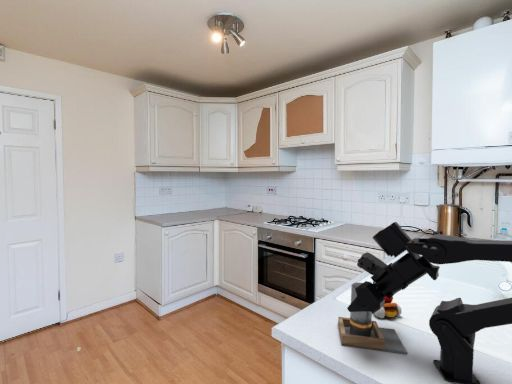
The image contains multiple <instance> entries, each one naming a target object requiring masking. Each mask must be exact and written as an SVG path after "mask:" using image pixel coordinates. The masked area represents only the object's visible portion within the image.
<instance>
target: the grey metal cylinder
mask: <svg viewBox="0 0 512 384" xmlns="http://www.w3.org/2000/svg"><path fill="white" fill-rule="evenodd" d="M362 283H363V282H353V283H352V284H351V289H350V291H351V292H350V304H351V303H352V302H353V300H354V299H355V298H356V297H357V294H356V290H355V288H357V287H358V286H360V285H361V284H362ZM349 313H350V315H349V318H350V335H358V336H366V337H371V328H372V321H373V320H372V319H373V315H372V314H373V312H369V311H363V312H349Z"/></svg>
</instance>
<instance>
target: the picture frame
mask: <svg viewBox="0 0 512 384" xmlns="http://www.w3.org/2000/svg"><path fill="white" fill-rule="evenodd" d="M337 326H338V333H339V339H340V344H341V346H343V347H351V348H359V349H366V350H374V351H381V352H389V353H394V354H395V353H396V354H402V355H403V354H404V355H408V352H407V349H406V347H405V345H404V344H403V342H402V339H400V337H399V335H398V333H397V330H395V328H387V327H379V324H378V322H377V321H376V320H372V328H371V337H366V336H358V335H350V317H345V316H344V317H342V316H338V320H337Z"/></svg>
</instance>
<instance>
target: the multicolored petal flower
mask: <svg viewBox="0 0 512 384" xmlns="http://www.w3.org/2000/svg"><path fill="white" fill-rule="evenodd" d="M384 299H385V304H384V306H383V307H382V308H381V309H379V310H378V311H376V312H375V313H373V314H374V315H375V316H376V318H378V317H379V318H378V319H384V318H385V316H386V317H388V318H394V317H395V316H398V317H400V316H401V314H402V308H401V306H400V304H398V303H397V302H393V301H394V295H393V296H392V297H391V298H389V299H388V297H387V296H386V297H384Z"/></svg>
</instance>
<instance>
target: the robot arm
mask: <svg viewBox="0 0 512 384" xmlns="http://www.w3.org/2000/svg"><path fill="white" fill-rule="evenodd" d="M372 239H373V241H375V243H376V244H377V246H379V247H380V248H381V250H382V251H383V252H384V253H385V255H386V256H387V257H389V256H390V257H394V258H397V257H398V256H399V255H402V253H404V252H407V253H406V254H404V255H402V256H401V257H400V258H398V259H397V260H395V261H394V262H390V263H388V264H387V263H385V262H384V261H383V260H382V259H380V258H378V257H377V256H375V255H373V254H372V253H370V252H368V251H367V252H364V253H363V254H361V256H360V257H359V258H358V259H357V264H356V266H357V267H358V268H359V269H363V271H365V272H367V273H369V275H372V276H370V279H371V280H372V282H371V281H367V280H366V281H363V282H361V283H362V284H361V285H360V286H358V287H357V288H355V290H356V294H357V297H356V298H355V299H354V300H353V302H352V303H351V302H350V304H349V305H348V306H347V311H348V312H349V313H350V312H363V311H369V312H372V314H374V313H375V312H376V311H378V310H379V309H381V308H382V307H383V306H384V304H385V299H384V297H386V296H387V297H388V299H389V298H391V297H392V296H393V297H394V295H396V294H397V293H398V292H400V291H404V290H405V289H407V288H408V287H409V286H410V285H411V284H414V282H416V281H418V280H419V279H421V278H422V277H424V276H425V275H428V276H429V277H430V278H431V279H432V280H433V281H436V280H438V278H439V274H440V272H439V270H440V268H441V267H440V266H439V265H448V264H457V263H463V262H468V261H487V262H491V261H492V262H504V263H505V262H507V263H512V240H493V239H490V240H489V239H488V240H485V239H484V240H483V239H481V240H480V239H479V240H478V239H469V238H465V237H464V238H463V237H460V236H455V235H450V234H441V233H440V234H439V233H436V234H432V235H430V237H428V238H427V237H425V238H424V237H421V238H418V237H416V238H415V237H414V238H411V237H410V235H408V234H407V233H406V232H405V231H404V230H403V229H402V227H401V225H400V224H399V223H398V222H397V221H394V222H391V224H390V225H388V226H386V227H385V228H384V229H381V230H379V231H378V232H377V233H375V234H374V235H373V236H372ZM507 325H512V297H507V298H503V299H496V300H494V301H487V302H483V303H478V304H468V303H464V302H463V300H462V297H456V298H454V299H451V300H441V301H440V303H439V305H437V306H435V308H434V309H433V312H432V314H431V316H430V318H429V320H428V326H429V329H430V331H431V332H432V334H434V335H435V336H436V338H437V340H438V343H439V346H440V349H439V350H440V351H439V356H440V357H439V359H433V361H432V363H433V364H434V366H435V367H436V369H437V370H438V371H439V373H440V374H441V376H442V377H443V379H444V380H445V381H447V382H451V383H459V384H460V383H461V384H482V383H481V381H480V380H479V379H478V377H477V376H476V374H474V373H473V371H474V370H473V369H474V352H475V350H474V349H475V348H474V347H475V341H476V336H477V335H476V333H478V332H479V331H481V330H484V329H487V328H494V327H500V326H507Z"/></svg>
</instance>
